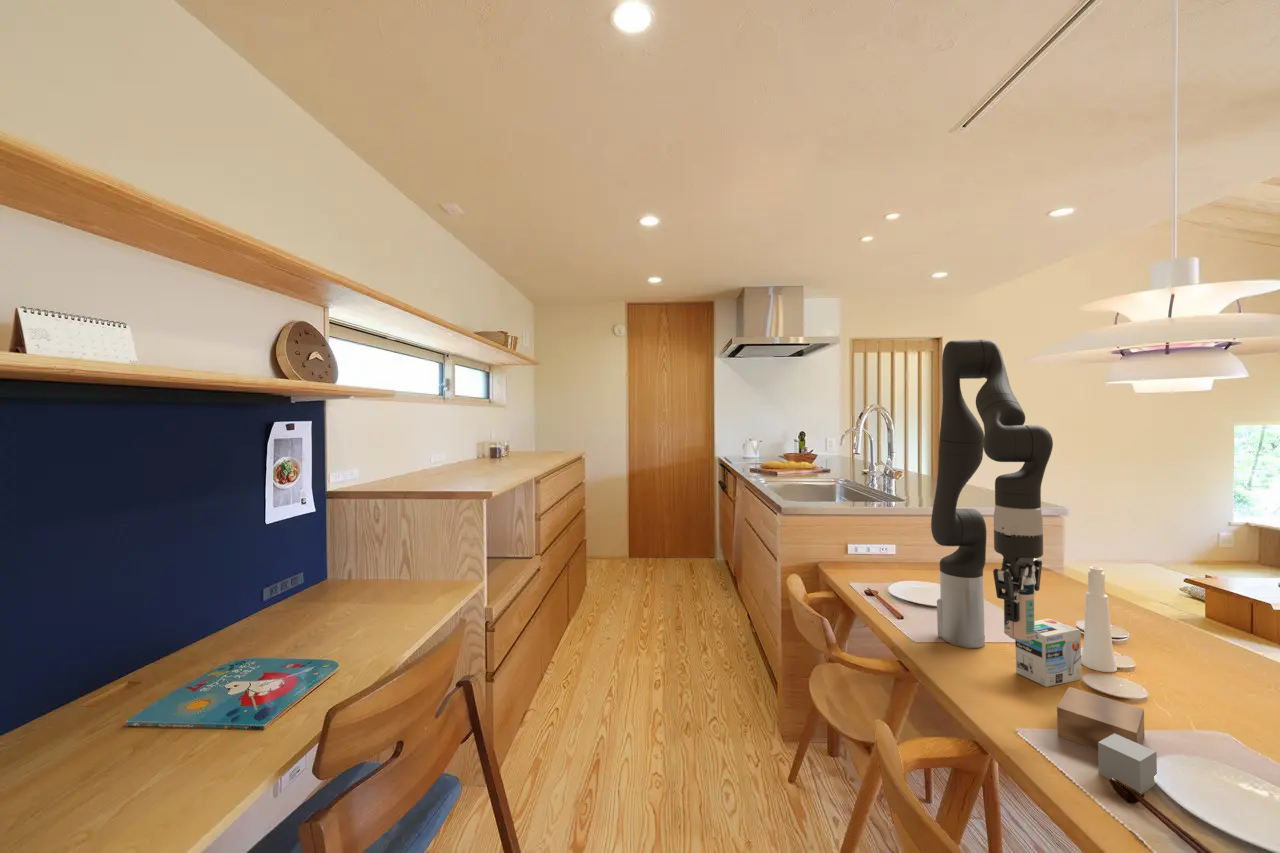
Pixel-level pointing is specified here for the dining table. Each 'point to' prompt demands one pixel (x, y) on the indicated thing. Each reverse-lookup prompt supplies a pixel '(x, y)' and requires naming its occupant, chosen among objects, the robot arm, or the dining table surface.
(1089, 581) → the cosmetic bottle
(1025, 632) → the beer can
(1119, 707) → the walnut block
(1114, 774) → the slate block
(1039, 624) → the light bulb box
